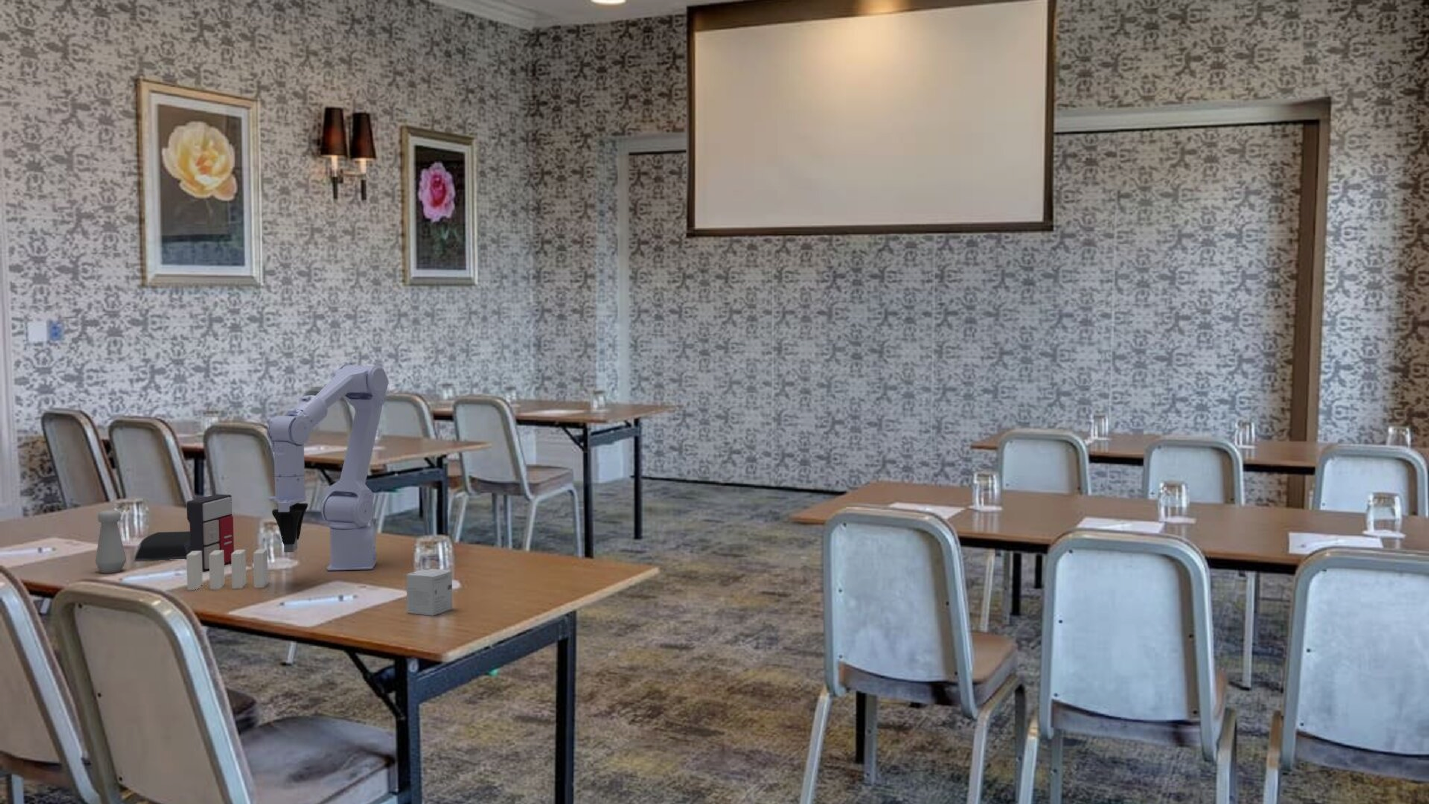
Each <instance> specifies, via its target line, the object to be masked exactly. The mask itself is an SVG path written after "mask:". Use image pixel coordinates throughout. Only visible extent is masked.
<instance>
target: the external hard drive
mask: <svg viewBox="0 0 1429 804" xmlns="http://www.w3.org/2000/svg"><path fill="white" fill-rule="evenodd" d="M190 552H191V551H190V530H189V531H157V532H153V533H151V534H149V535H147V536H146V537H144V538H143V539H141V541H140V542H139V544H138V547H137V549H136V552H135V554H134V558H133V562H134V563H135V562H137V563H138V562H158V561H159V560H165V561H171V560H170V559H187V555H188V554H189V553H190Z"/></svg>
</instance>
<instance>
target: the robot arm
mask: <svg viewBox="0 0 1429 804" xmlns="http://www.w3.org/2000/svg"><path fill="white" fill-rule="evenodd" d="M389 381H390V380H389V379H388V376H387V373H386V371H385V369H384V368H383V367H382V365H378V364H377V365H376V364H375V365H353V364H352V365H351V364H342V365H340V366H339V367H338V368H337V369H335V370H334V371H333V376H332V378H331V379H330V380H329V382H328V383H326V385H324V386H323V388H322V389H320V391H318V393H316V394H315V395H313V394H310V395H303V396H302V397H301V398H300V401H299V402H298V403H297V404H295V405H294V406H293V407H292V408H289V409H288V410H287V412H286V413H285V414H284V415H276V416H275V417H274V418H272V419H271V421H270V422H269V424H268V427H267V430H266V436H267V439H268V441H269V442H270V449H271V450H272V451H271V452H272V453H273V462H274V464H273V465H274V466H273V467H274V496H269V497H268V502H275V504H277V505H278V506H277V507H278V508H277V509H276V508H275V509H274V508H273V509H272V511H271V514H272V516H273V518H274V519H275V521H276V523H277V526H278V529H279V533H280V538H281V541H282V545H283V546H284V545H289V544H294V543H295V540H296V533H297V541H299V539H300V536H301V530H302V525H303V520H304V517H305V514H306V511H307V509H308V507H309V503H308V502H307V503H306V500H307V496H306V486H305V485H306V479H305V478H306V477H305V475H306V474H305V443H307V442H308V441H309V439H310V437H311V433H312V431H313V429H314V428H315V427H316V426H317V425H318V424H319V423H320V422H321V421H323V420H324V419H325V418H326V417H327V416H328V412H329V410H328V408H329V407H331V406H333V405H334V404H335V403H337V402H338V401H339V400H340V399H342V398H344V399H345V400H346V402H347V403H348V404H349V405H350V406H352V407H353V408H354V410H355V413H354V416H353V421H352V425H351V430H350V434H349V438H348V442H347V448H346V453H345V456H344V460H343V461H344V462H343V465H342V469H341V474H340V478H339V479H338V480H337V481H336V482H334V483H333V484H331V485H330V486H329V487H328V490H327V493H326V495H325V498H324V499H323V500H322V503H321V507H320V513H321V517H322V520H323V521H325V522H326V527H329V530H330V531H329V533H330V534H329V536H330V543H329V544H330V563H329V565H328V566H327V567H326V571H348V570H349V571H350V570H351V571H353V570H358V571H359V570H372V569H374V567H375V565H376V563H377V549H376V548H377V547H376V543H377V542H376V541H377V539H376V527H375V526H373V525H369V523H370V522H371V519H372V517H373V514H374V503H373V502H374V501H373V500H374V496H375V494H374V493H373V491H372V490H371V489H370V488H369V487H368V486H367V484H366V482H367V477H368V473H369V472H368V471H369V469H370V463H371V459H372V455H373V449H374V447H375V441H376V437H377V431H378V428H379V424H380V418H381V414H382V410H383V409H382V408H383V406H384V403H385V399H386V395H387V390H388V386H389Z"/></svg>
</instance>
